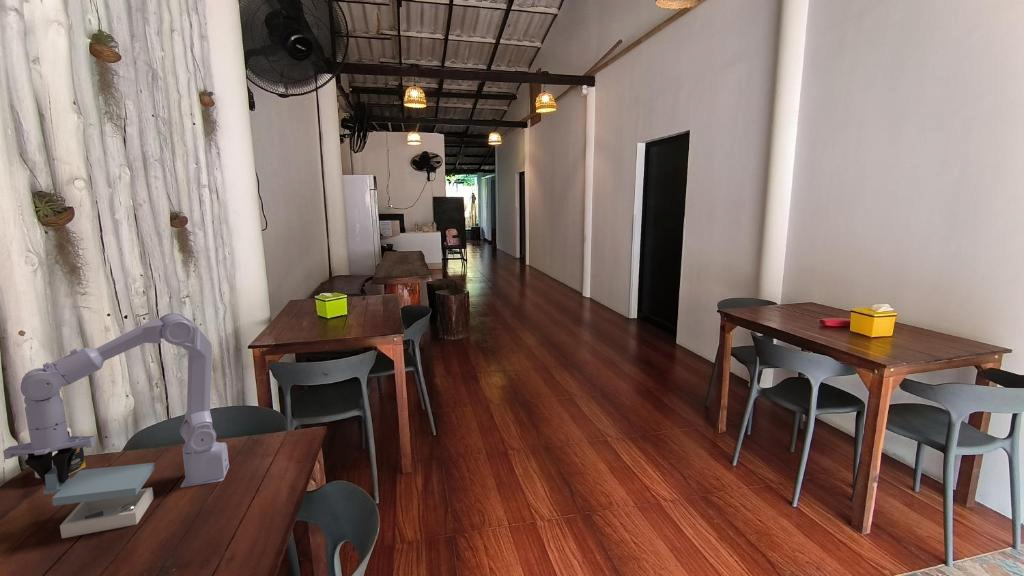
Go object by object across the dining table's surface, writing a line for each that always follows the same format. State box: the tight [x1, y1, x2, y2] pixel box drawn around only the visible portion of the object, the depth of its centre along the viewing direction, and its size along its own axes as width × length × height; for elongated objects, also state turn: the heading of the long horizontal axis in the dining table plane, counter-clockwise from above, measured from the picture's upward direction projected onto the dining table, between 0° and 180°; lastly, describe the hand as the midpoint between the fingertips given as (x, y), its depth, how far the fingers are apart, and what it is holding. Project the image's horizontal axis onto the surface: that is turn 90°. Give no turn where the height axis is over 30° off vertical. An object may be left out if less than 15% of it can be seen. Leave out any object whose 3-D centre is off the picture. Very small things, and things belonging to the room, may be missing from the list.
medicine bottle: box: [33, 426, 86, 479], centre depth 121 cm, size 7×7×12 cm
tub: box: [59, 487, 154, 539], centre depth 103 cm, size 13×10×4 cm
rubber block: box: [85, 511, 104, 519], centre depth 102 cm, size 3×2×2 cm, turn 131°
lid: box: [42, 462, 155, 507], centre depth 103 cm, size 17×11×5 cm, turn 111°
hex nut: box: [120, 503, 136, 513], centre depth 105 cm, size 3×3×1 cm
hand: (56, 482), depth 100 cm, fingers closed on lid
